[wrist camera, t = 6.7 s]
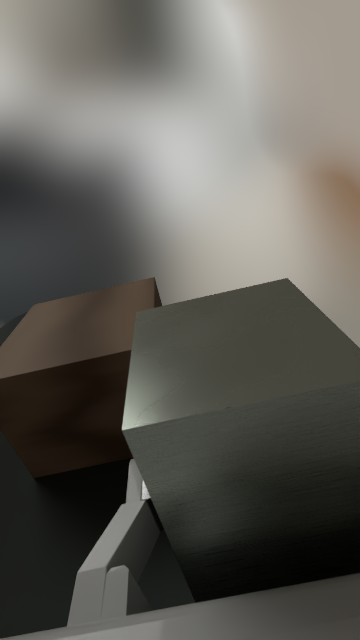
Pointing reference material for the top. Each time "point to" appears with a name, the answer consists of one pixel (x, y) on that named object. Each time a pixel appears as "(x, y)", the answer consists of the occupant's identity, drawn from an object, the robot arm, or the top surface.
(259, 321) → the brushed metal block
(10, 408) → the walnut block
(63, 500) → the top surface
